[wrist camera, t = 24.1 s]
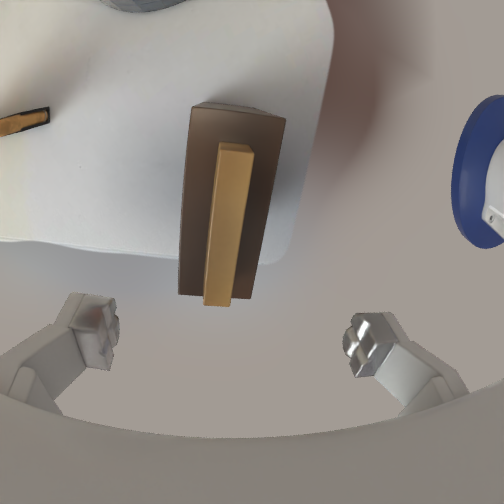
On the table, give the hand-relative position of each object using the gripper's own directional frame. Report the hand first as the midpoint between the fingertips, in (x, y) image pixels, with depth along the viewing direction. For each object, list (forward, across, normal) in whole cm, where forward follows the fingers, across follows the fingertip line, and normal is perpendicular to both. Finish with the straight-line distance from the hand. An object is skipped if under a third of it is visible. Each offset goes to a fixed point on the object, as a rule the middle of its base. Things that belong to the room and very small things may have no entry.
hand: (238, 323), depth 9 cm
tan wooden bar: (+9, 0, 0) cm, 9 cm away
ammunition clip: (+22, +25, -4) cm, 33 cm away
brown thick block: (+22, 0, 0) cm, 22 cm away
